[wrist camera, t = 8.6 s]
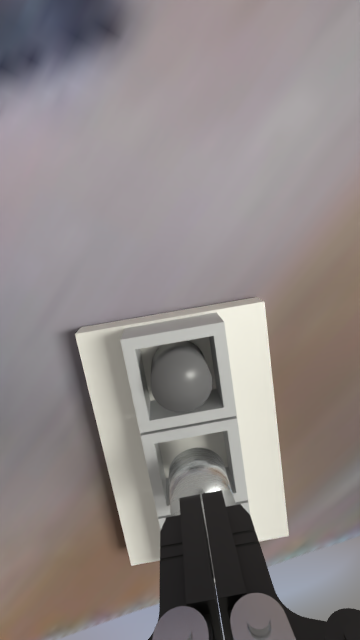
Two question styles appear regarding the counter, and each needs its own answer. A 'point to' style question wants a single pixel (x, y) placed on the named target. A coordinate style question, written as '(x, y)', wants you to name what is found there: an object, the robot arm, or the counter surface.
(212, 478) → the steel knob
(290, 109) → the counter surface
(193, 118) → the counter surface
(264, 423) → the panel
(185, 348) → the charcoal knob
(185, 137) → the counter surface
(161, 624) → the robot arm
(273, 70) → the counter surface
